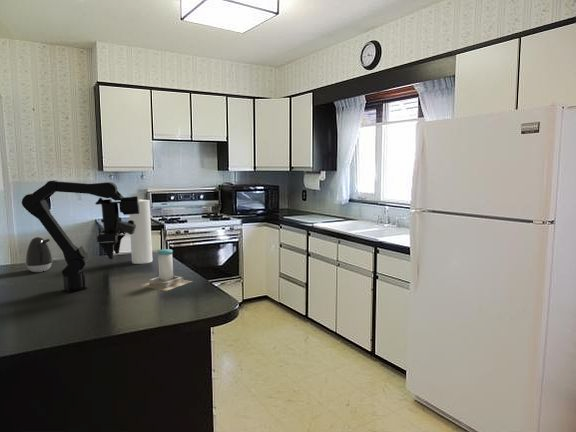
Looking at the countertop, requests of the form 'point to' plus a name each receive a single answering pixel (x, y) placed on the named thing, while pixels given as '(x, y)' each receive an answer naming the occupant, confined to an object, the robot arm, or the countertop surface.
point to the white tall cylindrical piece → (165, 264)
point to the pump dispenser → (38, 255)
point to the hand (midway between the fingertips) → (114, 256)
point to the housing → (166, 283)
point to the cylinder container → (141, 234)
